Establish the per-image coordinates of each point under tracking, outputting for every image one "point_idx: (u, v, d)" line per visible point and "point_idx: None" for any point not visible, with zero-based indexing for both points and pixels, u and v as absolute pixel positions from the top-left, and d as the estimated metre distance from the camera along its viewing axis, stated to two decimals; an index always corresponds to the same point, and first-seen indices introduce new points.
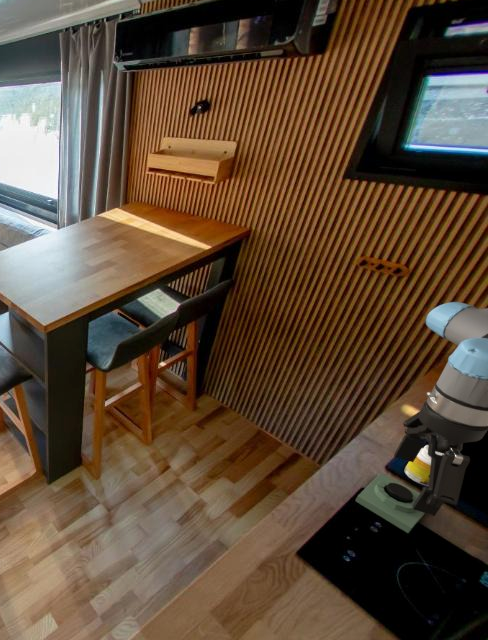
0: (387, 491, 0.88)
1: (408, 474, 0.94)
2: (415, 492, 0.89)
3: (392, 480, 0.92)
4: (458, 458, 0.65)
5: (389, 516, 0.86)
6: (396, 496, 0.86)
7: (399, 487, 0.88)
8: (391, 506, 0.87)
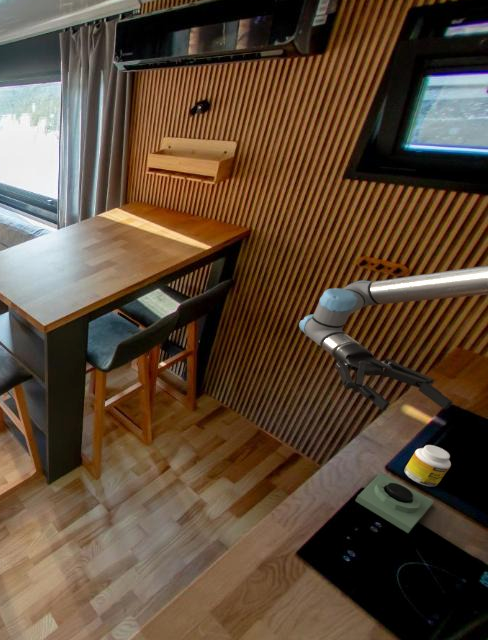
0: (387, 491, 0.88)
1: (408, 474, 0.94)
2: (415, 492, 0.89)
3: (392, 480, 0.92)
4: (336, 364, 1.08)
5: (389, 516, 0.86)
6: (396, 496, 0.86)
7: (399, 487, 0.88)
8: (391, 506, 0.87)
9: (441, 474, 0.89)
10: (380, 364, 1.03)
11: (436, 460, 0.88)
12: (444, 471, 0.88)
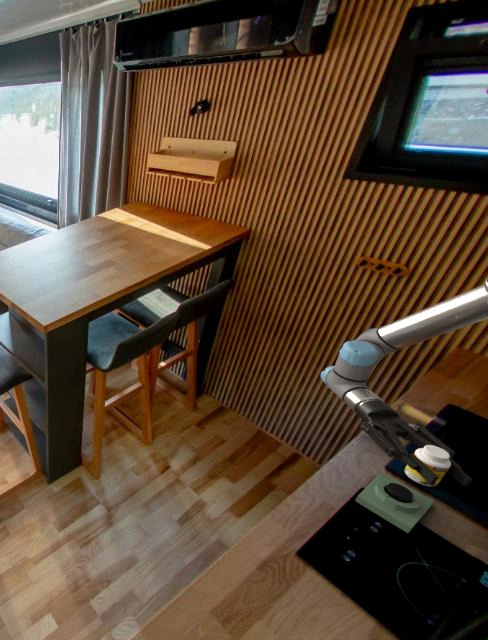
0: (387, 491, 0.88)
1: (408, 474, 0.94)
2: (415, 492, 0.89)
3: (392, 480, 0.92)
4: (361, 425, 1.02)
5: (389, 516, 0.86)
6: (396, 496, 0.86)
7: (399, 487, 0.88)
8: (391, 506, 0.87)
9: (441, 474, 0.89)
10: (403, 425, 0.98)
11: (436, 460, 0.88)
12: (444, 471, 0.88)
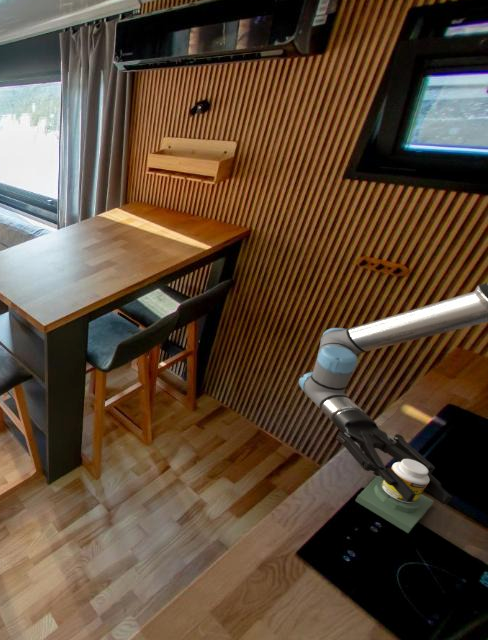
0: None
1: (385, 489, 0.88)
2: None
3: None
4: (338, 436, 0.96)
5: (389, 516, 0.86)
6: None
7: None
8: (391, 506, 0.87)
9: (420, 490, 0.83)
10: (381, 437, 0.93)
11: (414, 475, 0.82)
12: (422, 487, 0.82)
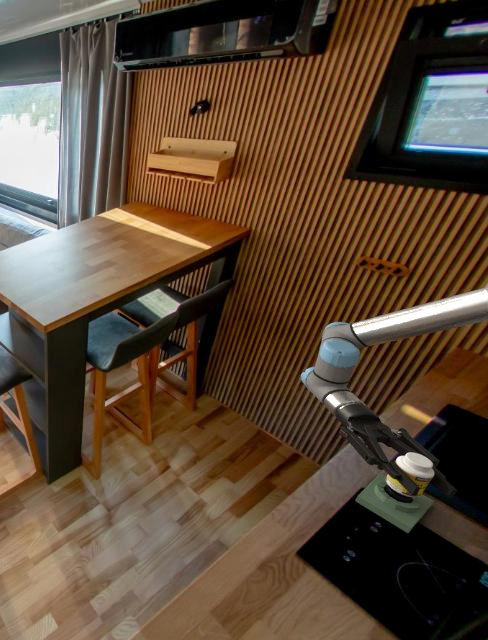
0: (387, 491, 0.88)
1: (389, 484, 0.87)
2: None
3: None
4: (341, 431, 0.95)
5: (389, 516, 0.86)
6: (396, 496, 0.86)
7: None
8: (391, 506, 0.87)
9: (424, 484, 0.82)
10: (385, 431, 0.92)
11: (418, 469, 0.81)
12: (427, 481, 0.81)
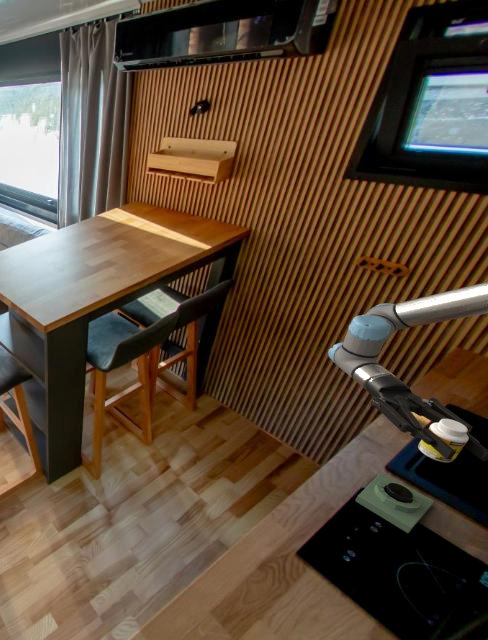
0: (387, 491, 0.88)
1: (422, 450, 0.89)
2: (415, 492, 0.89)
3: (392, 480, 0.92)
4: (372, 401, 0.98)
5: (389, 516, 0.86)
6: (396, 496, 0.86)
7: (399, 487, 0.88)
8: (391, 506, 0.87)
9: (458, 448, 0.84)
10: (417, 400, 0.94)
11: (453, 434, 0.84)
12: (461, 445, 0.84)
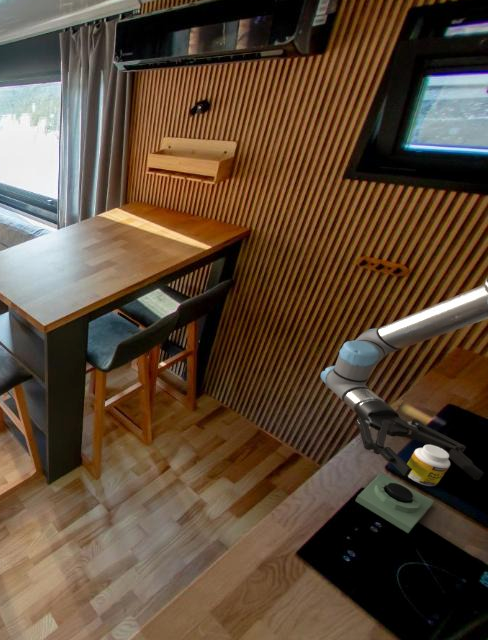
0: (387, 491, 0.88)
1: None
2: (415, 492, 0.89)
3: (392, 480, 0.92)
4: (356, 421, 1.03)
5: (389, 516, 0.86)
6: (396, 496, 0.86)
7: (399, 487, 0.88)
8: (391, 506, 0.87)
9: (441, 473, 0.89)
10: (405, 425, 0.98)
11: (435, 460, 0.88)
12: (443, 471, 0.88)
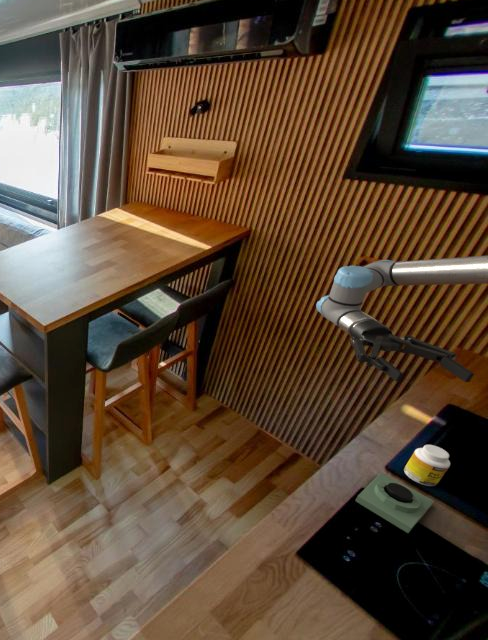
0: (387, 491, 0.88)
1: (407, 474, 0.94)
2: (415, 492, 0.89)
3: (392, 480, 0.92)
4: (351, 340, 1.05)
5: (389, 516, 0.86)
6: (396, 496, 0.86)
7: (399, 487, 0.88)
8: (391, 506, 0.87)
9: (441, 473, 0.89)
10: (398, 339, 1.00)
11: (435, 460, 0.88)
12: (443, 471, 0.88)
